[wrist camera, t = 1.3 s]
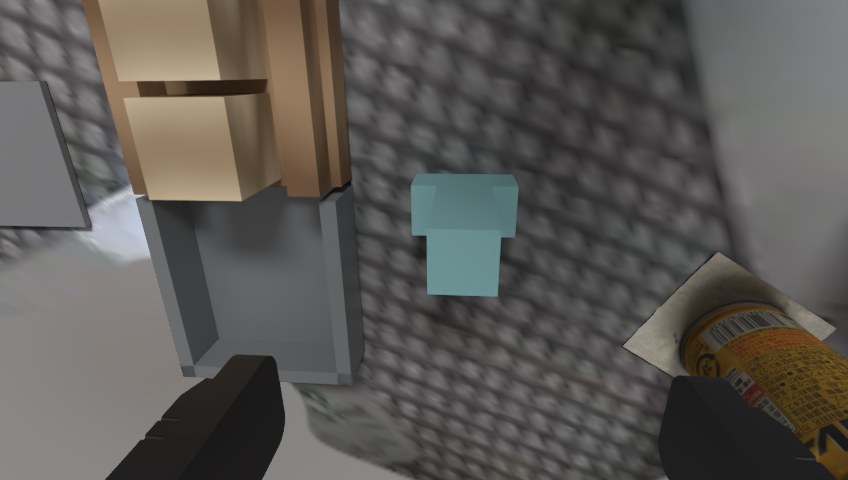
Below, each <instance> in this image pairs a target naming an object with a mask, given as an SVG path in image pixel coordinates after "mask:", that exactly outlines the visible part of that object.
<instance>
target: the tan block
mask: <svg viewBox="0 0 848 480" xmlns="http://www.w3.org/2000/svg"><path fill="white" fill-rule="evenodd" d="M123 99H124V103H125V107H126V111H127V115H128V118H129V122H130V126H131V130H132V134H133V138H134V142H135V146H136V149H137V153H138V157H139V161H140V165H141V169H142V173H143V177H144V180H145V184H146V188H147V192H148V196H149V200H198V201H243V200H245V199H246V198H248V197H250V196H252V195H254V194H255V193H257V192H259V191H261V190H262V189H264V188H266V187H268V186H269V185H271V184H273V183H275V182H276V181H278V180H280V179H281V172H280V164H279V157H278V150H277V142H276V135H275V128H274V120H273V113H272V106H271V98H270V93H203V94H175V95H161V96H147V97H133V98H123Z"/></svg>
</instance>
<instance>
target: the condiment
mask: <svg viewBox="0 0 848 480" xmlns="http://www.w3.org/2000/svg"><path fill="white" fill-rule="evenodd" d="M740 295H743V296H742V297H740ZM835 330H836V328H835V327H833V326H832V325H830V324H829V323H827V322H826V321H824V320H823V319H821V318H820V317H818V316H816V315H815V314H813V313H812V312H810V311H809V310H807V309H806V308H804V307H803V306H801V305H800V304H798V303H796V302H795V301H793V300H792V299H790V298H789V297H787V296H786V295H784V294H783V293H781V292H779V291H778V290H777V289H775V288H773V287H772V286H770V285H769V284H767V283H765V282H764V281H762V280H761V279H759V278H758V277H756V276H755V275H753V274H752V273H750V272H749V271H747V270H746V269H744V268H742V267H741V266H739V265H738V264H736V263H735V262H733V261H732V260H730V259H729V258H727V257H725V256H724V255H722V254H721V253H719V252H718V253H716V254H715V255H714V256H713V257H712V258H711V259H710V260H709V261H708V262H707V263H706V264H704V265H702V266H701V267H700V268H699V270H698V271H697V272H695V273H694V274H693V275H692V276H691V277H690V278H689V279H688V280H687V281H686V283H685V284H683V285H682V286H681V287H680V288H679V289H678V290H677V291H676V292H675V293H674V294H673V295H672V296H671V297H670V298H669V299H668V300H667V301H666V302H665V303H664V304H663V305H662V306H660V307H659V308H658V309H657V310H656V312H655V313H654V314H653V315H652V316H651V317H650V319H649V320H648V321H647V322H646V323H645V324H643V325H642V326H641V327H640V328H639V329H638V330H637V331H636V333H635V334H634V335H633V336H632V337H631V338H630V339H629V340H628V341H627V342H626V343H625V344H624V345H623V347H624V348H626V349H628V350H629V351H631V352H632V353H634V354H636V355H638V356H639V357H641V358H643V359H645V360H646V361H647V362H649V363H651V364H653V365H655V366H656V367H658V368H660V369H661V370H663V371H664V372H666V373H668V374H670V375H671V376H673V377H676V376H679V375H685V376H708V377H722V378H724V379H726V380H727V381H728V382H729V383H730V384H731V385H732V386H733V387H734V388H735V390H736V391H737V392H738V393H739V394H740V395H741V396H742V398H743V399H744V400H745V401H746V402H747V403H748V404H749V406H750V407H758V408H760V409H761V410H763V411H764V412H766V413H767V414H769V415H770V416H771V417H773V418H774V419H776V420H777V421H779V422H780V423H782V424H783V425H784V426H786V427H787V428H789V429H790V430H791V431H792V432H793V433H794V434H795V435H796V436H797V437H798V438H799V439H800V440H801V441H802V442H803V443H804V445H805V446H806V447H807V448H808V449H809V450H810V451H811V452H812V453H813V454H814V455H815V456H816V461H817V462H820V463H822V464H823V465H824V466H825V467H826V468H827V469H828V470H829V471H830V472H831V474H832V475H833V476H834V477H835V478H836V479H837V480H848V361H847V360H846V359H844V358H843V357H842V356H841V355H839V354H838V353H837V352H835V351H834V350H833V349H831V348H830V347H828V346H827V345H826V344H825V343H824V342H822V341H823V340H824V339H825V338H827V337H828V336H829V335H830V334H831V333H832V332H833V331H835ZM674 332H676V334H677V337H676V338H674V337H673V333H674ZM675 339H678V343H676V344H675Z"/></svg>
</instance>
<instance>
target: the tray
mask: <svg viewBox="0 0 848 480" xmlns="http://www.w3.org/2000/svg"><path fill="white" fill-rule="evenodd" d="M136 202H137V206H138V210H139V213H140V217H141V221H142V225H143V228H144V232H145V236H146V239H147V243H148V247H149V250H150V254H151V258H152V262H153V265H154V269H155V273H156V276H157V280H158V284H159V287H160V291H161V295H162V299H163V302H164V306H165V310H166V313H167V317H168V321H169V325H170V328H171V332H172V336H173V339H174V343H175V346H176V350H177V354H178V358H179V361H180V365H181V369H182V372H183V376H184V377H201V378H214V377H215V376H216V375H217V373H218V372H219V371H220V370H221V369H222V367H223V366H224V365H225V364H226V363H227V362H228V360H229V359H230V358H231V357H232V356H234V355H236V354H242V355H265V356H273V357H274V359H275V360H276V363H277V369H278V375H279V381H280V382H295V383H314V384H333V385H351V386H352V385H353V382H354V379H355V376H356V373H357V371H358V368H359V365H360V362H361V360H362V357H363V354H364V351H365V349H364V336H363V322H362V309H361V296H360V282H359V269H358V256H357V243H356V229H355V216H354V203H353V189H352V185H343V186H342V187H331V188H330V189H329V190H327V191H326V192H325V193H324V194H323V195H322V196H320V197H293V196H288V193H287V186H268V187H266V188H264V189H262V190H261V191H259V192H257V193H255V194H254V195H252V196H250V197H248V198H246V199H245V200H243V201H198V200H149V196H148V195H145V196H142V197H139V198H137V199H136Z"/></svg>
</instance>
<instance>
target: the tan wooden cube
mask: <svg viewBox="0 0 848 480" xmlns="http://www.w3.org/2000/svg"><path fill="white" fill-rule="evenodd" d="M98 2H99V6H100V10H101V14H102V18H103V21H104V25H105V29H106V33H107V37H108V41H109V45H110V49H111V53H112V56H113V60H114V64H115V68H116V72H117V76H118V80H119V81H192V80H246V79H268V77H267V69H266V62H265V55H264V47H263V40H262V33H261V25H260V18H259V11H258V4H257V0H98Z"/></svg>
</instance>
